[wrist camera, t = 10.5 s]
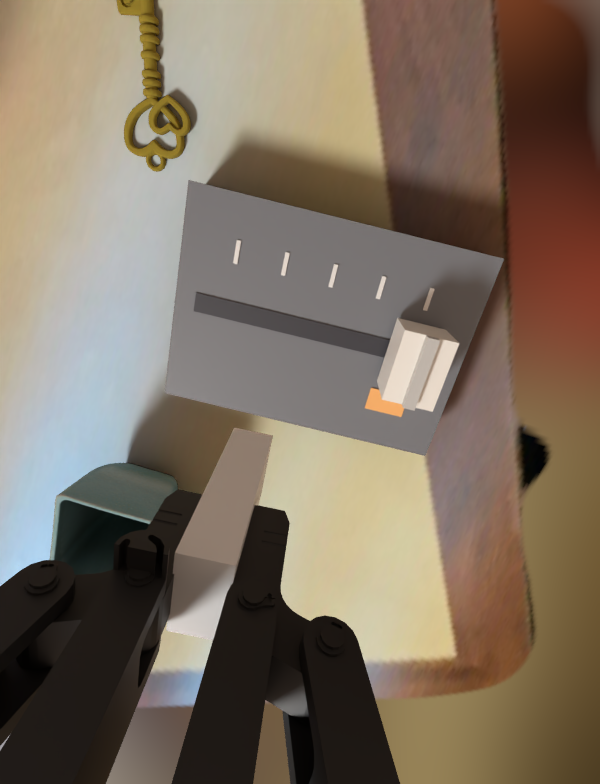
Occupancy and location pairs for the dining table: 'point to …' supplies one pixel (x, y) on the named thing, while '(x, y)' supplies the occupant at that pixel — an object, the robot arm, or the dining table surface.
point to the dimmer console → (312, 314)
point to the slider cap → (416, 365)
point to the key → (152, 90)
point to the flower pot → (105, 513)
